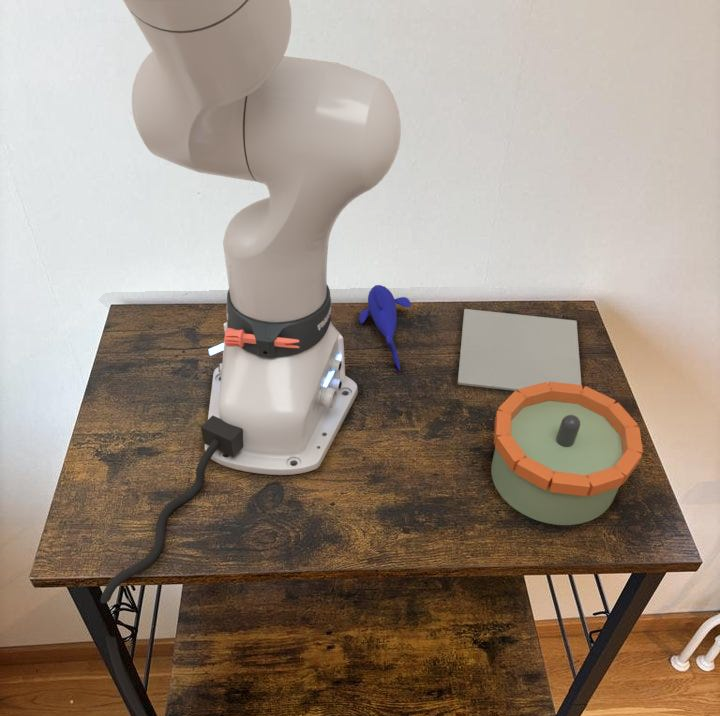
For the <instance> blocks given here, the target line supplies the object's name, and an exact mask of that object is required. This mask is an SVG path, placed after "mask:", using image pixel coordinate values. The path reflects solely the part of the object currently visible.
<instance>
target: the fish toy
mask: <svg viewBox="0 0 720 716" xmlns="http://www.w3.org/2000/svg"><path fill="white" fill-rule="evenodd" d="M397 305H399V306H402V307H405V308H410V307H411V305H412V304H411V301H410V299H409V298H408V297H406V296H402V297H396V298H395V297H394V295H393V294H392V292H391V291H390V290H389V289H388V288H387V287H386V286H384V285H382V284H375V285H374V286H372V288H371V289H370V290H369V292H368V297H367V306H368V307H367V308H366V309H364V310H362V311H361V312H360V313H359V317H358V320H359V323H360V324H361V325H362V324H364V323H365V322H366V320H367V318H368V317H369V314H370V316H371V317H372V320H373V322H374V324H375V326H376V328H377V330H378V331H379V332H380V334H382V335H383V336H384V338H385V342H386V344H387V347H388V349H389V351H390V354H391V356H392V360H393V362H394V365H395V366H396V368H397V370H398V371H399V372H401V369H402V368H401V364H400V363H401V362H400V359H399V355H398V351H397V348H396V345H395V342H394V337H395V334H396V330H397V323H398V319H397V318H398V316H397V315H398V313H397V312H398V311H397Z"/></svg>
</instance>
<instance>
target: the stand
mask: <svg viewBox="0 0 720 716" xmlns="http://www.w3.org/2000/svg"><path fill="white" fill-rule="evenodd" d="M511 436H512V437H513V438H514V440H515V441H516V442H517V444H518V445H519V447H520V448H521V449H522V451H523V452H524V453H525V455H526V456H527V457H529V458H531V459H533V460H535V461H536V462H538V463H540V464H542V465H544V466H546V467H547V468H549V469H551V470H553V471H557V472H565V473H573V474H581V475H589V474H592V473H595V472H599V471H602V470H605V469H608V468H611V467H614V466H615V465H616V464H617V462H618V461H619V460H620V458H621V457H622V456H623V449H622V441H621V436H620V435H619V434H618V432H617V431H616V430H615V429H614V428H613V427H612V425H611V424H610V423H609V422H608V421H607V420H606V419H605V417H603V416H601V415H599V414H597V413H595V412H593V411H591V410H589V409H587V408H585V407H583V406H581V405H579V404H574V403H565V402H557V401H545V402H542V403H538V404H534V405H531V406H527V407H524V408H523V409H522V410H521V411H520V412H519V413H518V414H517V415H516V416H515V417H514V418H513V419H512V420H511ZM490 469H491V471H490V472H491V473H490V474H491V478H492V482H493V484H494V487H495V489H496V490H497V492H498V494H499V496H501V498H502V499H503V500H504V501H505V502H506V503H507V504H508V505H509V506H510V507H512V508H513V509H514V510H516V511H517V512H519V513H520V514H522V515H524V516H526V517H528V518H530V519H532V520H535V521H537V522H541V523H544V524H549V525H554V526H575V525H580V524H585V523H588V522H590V521H593V520H595V519H597V518H599V517H601V515H603V514H604V513H605V512H606V511H607V510H608V509H609V508H610V507H611V505H612V504H613V502H614V500H615V497H616V495H617V493H618V491H619V488H620V487H617V488H614V489H611V490H608V491H605V492H602V493H599V494H595V495H592V496H589V495H588V493H587V496H578V495H570V494H562V493H554V492H549V487H548V489H547V490H544V489H542V488H540V487H538V486H536V485H534V484H533V483H531V482H529V481H527V480H525V479H524V478H522V477H520V476H518V475H516V474H515V470H514V471H511V469H510V468H509V466H508V465H507V464H506V462H505V461H504V459H503V458H502V456H501V455H500V454H499V452H498V451H497V449H496V448H495V447H494V452H493V457H492V460H491V468H490Z"/></svg>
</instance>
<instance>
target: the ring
mask: <svg viewBox="0 0 720 716" xmlns="http://www.w3.org/2000/svg"><path fill="white" fill-rule="evenodd" d="M545 401H557V402H565V403H574V404H579V405H581V406H583V407H585V408H587V409H589V410H591V411H593V412H595V413H597V414H599V415H601V416H603V417H605V419H606V420H607V421H608V422H609V423H610V424H611V425H612V427H613V428H614V429H615V430H616V431H617V432H618V434H619V435H620V436H621V441H622V449H623V456H622V457H621V458H620V460H619V461H618V462H617V464H616V465H615V466H614V467H611V468H608V469H605V470H602V471H599V472H595V473H592V474H589V475H581V474H573V473H565V472H557V471H553V470H551V469H549V468H547V467H546V466H544V465H542V464H540V463H538V462H536V461H535V460H533V459H531V458H529V457H527V456H526V455H525V453H524V452H523V451H522V449H521V448H520V447H519V445H518V444H517V442H516V441H515V440H514V438H513V437H512V436H511V420H512V419H513V418H514V417H515V416H516V415H517V414H518V413H519V412H520V411H521V410H522V409H523V408H524V407H527V406H531V405H534V404H538V403H542V402H545ZM616 401H617V400H616V399H614V398H612V397H610V396H608V395H605V394H603V393H601V392H599V391H597V390H595V389H593V388H591V387H589V386H587V385H585V386H583V385H582V384H581V385H577V384H568V383H559V382H549V384H548V383H547V382H543V383H539V384H536V385H532V386H528V387H525V388H521V389H518V391H513V392H512V393H511V394H510V395H509V397H507V398H506V399H505V401H503V402H502V403H501V405H500V406H498V407H497V411H496V414H495V418H494V428H493V429H494V431H493V433H494V434H493V445H494V449H495V448H496V449H497V451H498V452H499V454H500V455H501V456H502V458H503V459H504V461H505V462H506V464H507V465H508V466H509V468H510V469H511V471H514V470H515V474H516V475H518V476H520V477H522V478H524V479H525V480H527V481H529V482H531V483H533V484H534V485H536V486H538V487H540V488H542V489H544V490H547V489H548V487H549V492H554V493H562V494H570V495H578V496H587V493H588V495H589V496H592V495H595V494H599V493H602V492H605V491H608V490H611V489H614V488H617V487H619V488H620V487H621V486H622V485H624V484H625V482H627V480H628V478H630V476H631V475H632V473H633V472H634V471H635V469H636V468H637V466H638V464H639V463H640V461H641V458H642V456H643V453H644V450H643V443H642V436H641V430H640V429H641V428H640V426H639V425H638V423H637V422H636V420H635V419H634V418H633V417H632V416H631V415H630V413H628V411H627V410H626V409H625V408H624V407H623V406H622V405H621V403H619V402H616Z"/></svg>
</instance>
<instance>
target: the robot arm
mask: <svg viewBox="0 0 720 716" xmlns="http://www.w3.org/2000/svg"><path fill="white" fill-rule="evenodd" d="M122 2H123V3H124V5H125V6H126V8H127V9H128V12H129V13H130V14H131V16H132V18H133V19H134V21H135V23H136V24H137V27H138V28H139V30H140V31H141V33H142V34H143V37H144V39H145V40H146V42H147V43H148V46H149V47H150V49H151V52H150V53H149V54H148V55H147V56H146V57H145V58H144V60H143V61H142V63H141V64H140V66H139V68H138V70H137V72H136V74H135V77H134V81H133V83H132V89H131V90H132V91H131V111H132V117H133V121H134V124H135V127H136V130H137V132H138V135H139V136H140V138H141V140H142V142H143V144H144V145H145V147H146V148H147V150H148V151H149V152H150V153H151V154H152V155H154V156H155V157H158V158H160V159H163V160H165V161H168V162H170V163H172V164H175V165H177V166H179V167H182V168H185V169H188V170H191V171H193V172H197V173H201V174H204V175H205V174H206V175H212V176H219V177H225V178H231V179H237V180H242V181H249V182H255V183H259V184H263V185H265V186H266V188H267V191H268V194H269V196H268V197H266V198H262V199H259V200H257V201H255V202H252V203H250V204H249V205H246V206H245V207H243V208H242V209H241V210H240V211H238V212H237V213H236V214H235V215H233V216H232V218H231V219H230V220H229V222H228V224H227V226H226V228H225V231H224V235H223V242H222V245H223V253H224V261H225V268H226V276H227V283H228V290H227V293H226V306H225V312H226V313H225V314H226V322H224V323H223V329H224V340H223V342H222V343H220V344H218V345H215V346H212V347H210V348H208V355H210V356H213V355H215V354H217V353H220V352H222V362H221V363H219V365H218V366H217V367H216V368H215V369H214V371H213V373H212V374H213V375H212V381H211V382H212V383H211V390H210V399H209V400H210V401H209V407H208V415H207V420H206V421H205V422H204V423H203V424H202V425H201V426H200V429H201V434H202V439H203V444H204V452H203V454H202V456H201V458H200V460H199V461H198V464H197V466H196V470H195V471H196V472H195V481H194V483H193V484H192V486H191V487H190V488H189V489H187V491H186V492H184V493H182V494H181V495H179V496H178V497H176V498H174V499H173V500H171V501H170V502H169V503H168V504H166V505H165V506H164V508H162V510H161V512H160V514H159V515H158V518H157V520H156V526H155V539H154V544H153V546H152V548H151V550H150V552H149V553H148V554H147V555H146V556H145V558H143V559H142V560H140V561H139V562H137V563H135V564H133V565H131V566H129V567H127V568H125V569H123V570H122V571H120V572H119V573H118V574H116V575H115V576H113V577H112V578H111V580H109V582H108V583H107V584H106V586H105V588H104V590H103V592H102V594H101V596H100V600H99V601H100V603H101V604H108V602H110V600H111V598H112V596H113V594H114V593H115V591H116V590H117V588H118V587H119V586H120V585H121V584H122V583H124V582H125V581H127V580H129V579H130V578H131V577H134V576H135V575H137V574H139V573H141V572H143V571H145V570H146V569H147V568H149V567H150V566H152V564H154V563H155V562H156V560H157V559H158V558H159V557H160V555H161V553H162V551H163V550H164V549H163V548H164V544H165V536H166V534H165V533H166V526H167V525H166V524H167V521H168V519H169V517H170V515H171V514H172V513H173V512H174V511H175V510H177V508H179V507H180V506H182V505H184V504H185V503H188V502H189V501H190V500H191V499H193V498H194V497H196V495H198V493H199V491H201V489H202V488H203V486H204V484H205V473H206V469H207V466H208V464H209V462H210V460H212V461H213V462H215V463H217V464H219V465H221V466H223V467H225V468H229V469H233V470H236V471H241V472H246V473H253V474H259V475H268V476H269V475H272V476H291V475H299V474H305V473H308V472H312V471H315V470H318V469H319V468H320V466H321V465H322V463H323V461H324V459H325V458H326V455H327V454H328V452H329V449H330V448H331V446H332V444H333V442H334V440H335V438H336V437H337V434H338V433H339V430H340V429H341V427H342V425H343V423H344V421H345V419H346V417H347V416H348V414H349V412H350V409H352V408H351V407H352V406H353V404H354V402H355V400H356V399H357V396H358V394H359V389H358V388H359V387H358V384H357V382H356V381H354V380H353V379H352V378H350V377H349V376H347V375H346V365H345V364H346V363H345V345H344V344H345V343H344V337H343V336H342V334H341V333H340V332H339V330H338V329H337V328H336V327H335V326H334V324H333V323H332V321H331V320H332V311H333V310H332V308H333V302H332V297H331V290H330V287H329V285H328V283H327V279H328V278H327V274H328V273H327V272H328V271H327V270H328V252H329V242H330V236H331V233H332V230H333V227H334V225H335V223H336V221H337V220H338V218H339V216H340V215H341V213H342V212H343V211H344V210H345V208H346V207H347V206H348V205H349V204H350V203H352V202H353V201H354V200H356V199H357V198H358V197H360V196H362V195H363V194H364V193H367V192H369V191H371V190H372V189H373V188H375V187H376V186H377V185H378V184H379V183H380V182H381V181H382V180H383V179H384V178H385V177H386V176H387V174H388V172H390V170H391V168H392V166H393V164H394V162H395V160H396V158H397V156H398V155H397V154H398V151H399V148H400V144H401V136H402V125H401V115H400V111H399V107H398V104H397V101H396V99H395V96H394V94H393V92H392V90H391V88H390V86H388V84H387V83H386V81H385V80H384V79H381V78H379V77H377V76H374V75H372V74H370V73H367V72H364V71H361V70H359V69H357V68H354V67H351V66H349V65H345V64H342V63H339V62H333V61H327V60H319V59H318V60H317V59H311V58H303V57H295V56H289V55H288V56H287V55H285V54H286V52H287V49H288V46H289V44H290V39H291V33H292V7H291V2H290V0H122ZM105 640H106V644H107V645H106V646H107V650H108V653H109V656H110V661H111V664H112V667H113V670H114V673H115V676H116V678H117V681H118V683H119V685H120V687H121V690H122V692H123V694H124V696H125V698H126V699H127V701H128V703H129V705H130V707H131V708H132V710H133V711H134V713H135V715H136V716H147V715H146V713H145V711H144V709H143V708H142V706H141V705H140V703H139V701H138V698H137V697H136V695H135V692H134V691H133V689H132V686H131V685H130V683H129V680H128V677H127V675H126V672H125V668H124V666H123V662H122V659H121V655H120V651H119V647H118V642H117V637H115V636H109V635H105Z"/></svg>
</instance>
